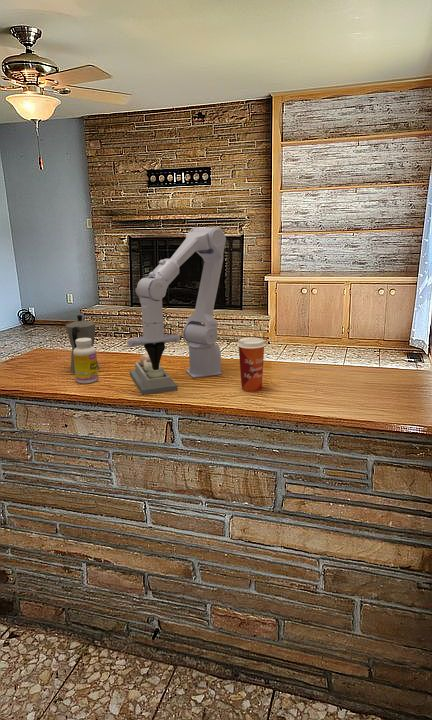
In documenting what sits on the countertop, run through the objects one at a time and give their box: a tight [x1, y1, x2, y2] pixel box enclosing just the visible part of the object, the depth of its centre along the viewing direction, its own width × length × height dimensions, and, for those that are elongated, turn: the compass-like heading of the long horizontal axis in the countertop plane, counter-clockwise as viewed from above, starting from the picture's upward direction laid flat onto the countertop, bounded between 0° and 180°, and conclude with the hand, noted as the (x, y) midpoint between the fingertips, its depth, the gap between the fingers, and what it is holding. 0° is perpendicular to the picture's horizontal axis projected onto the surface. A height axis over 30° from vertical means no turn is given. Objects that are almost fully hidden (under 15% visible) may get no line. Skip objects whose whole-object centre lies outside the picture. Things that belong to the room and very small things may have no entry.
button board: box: [129, 361, 178, 396], centre depth 152 cm, size 10×20×4 cm, turn 19°
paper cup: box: [237, 336, 266, 393], centre depth 143 cm, size 8×8×14 cm
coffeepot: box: [65, 314, 100, 374], centre depth 163 cm, size 15×9×18 cm, turn 1°
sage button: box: [148, 366, 165, 379], centre depth 146 cm, size 4×4×3 cm
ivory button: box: [144, 359, 152, 373], centre depth 151 cm, size 4×4×3 cm
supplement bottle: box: [73, 338, 99, 384], centre depth 154 cm, size 7×7×13 cm
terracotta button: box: [139, 353, 150, 367], centre depth 156 cm, size 4×4×3 cm
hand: (155, 368), depth 145 cm, fingers closed, pressing on sage button
